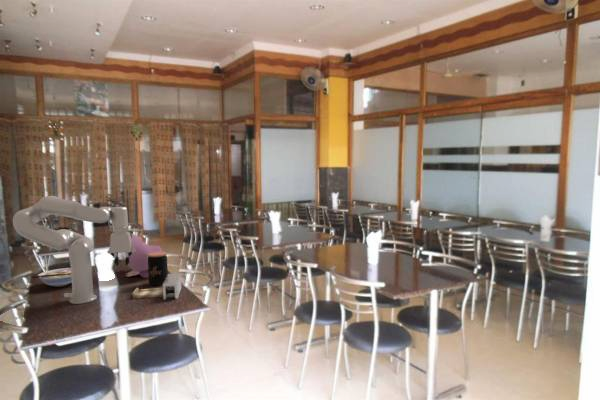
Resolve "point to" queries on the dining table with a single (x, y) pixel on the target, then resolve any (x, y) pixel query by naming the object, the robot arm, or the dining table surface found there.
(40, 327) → the dining table surface
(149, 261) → the coffee jar
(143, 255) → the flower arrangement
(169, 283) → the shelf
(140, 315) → the dining table surface
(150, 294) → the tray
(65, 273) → the ramen bowl
